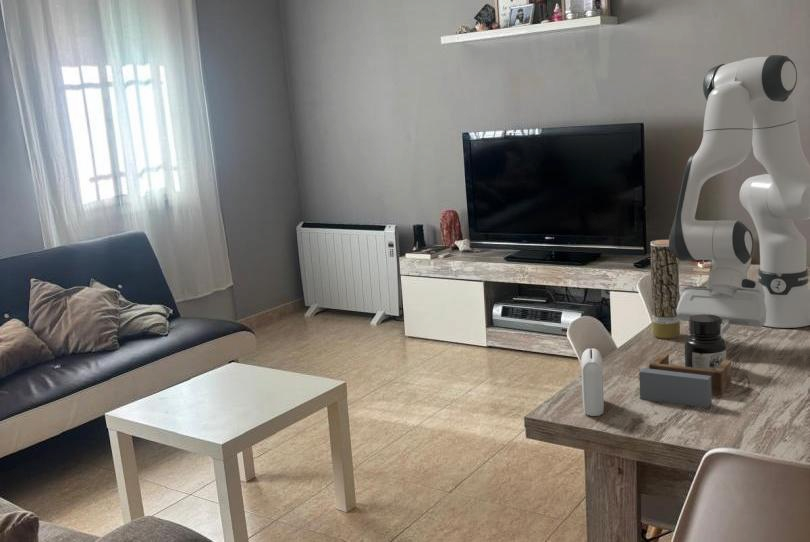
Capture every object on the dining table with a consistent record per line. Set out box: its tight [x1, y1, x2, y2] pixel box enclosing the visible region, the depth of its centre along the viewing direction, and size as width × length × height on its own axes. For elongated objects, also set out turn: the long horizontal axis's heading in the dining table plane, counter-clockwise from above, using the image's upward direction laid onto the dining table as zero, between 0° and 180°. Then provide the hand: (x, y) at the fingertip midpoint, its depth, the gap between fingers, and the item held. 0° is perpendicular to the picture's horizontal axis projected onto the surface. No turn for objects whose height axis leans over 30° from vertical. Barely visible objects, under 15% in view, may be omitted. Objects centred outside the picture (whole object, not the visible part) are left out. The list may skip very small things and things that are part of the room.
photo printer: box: [580, 348, 605, 417], centre depth 170 cm, size 10×4×12 cm, turn 168°
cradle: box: [648, 353, 732, 396], centre depth 179 cm, size 8×15×5 cm, turn 55°
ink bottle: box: [684, 314, 727, 370], centre depth 187 cm, size 10×9×12 cm
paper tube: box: [650, 239, 681, 340], centre depth 213 cm, size 7×7×25 cm
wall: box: [638, 367, 713, 409], centre depth 170 cm, size 2×14×6 cm, turn 55°
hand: (715, 337), depth 194 cm, fingers closed
